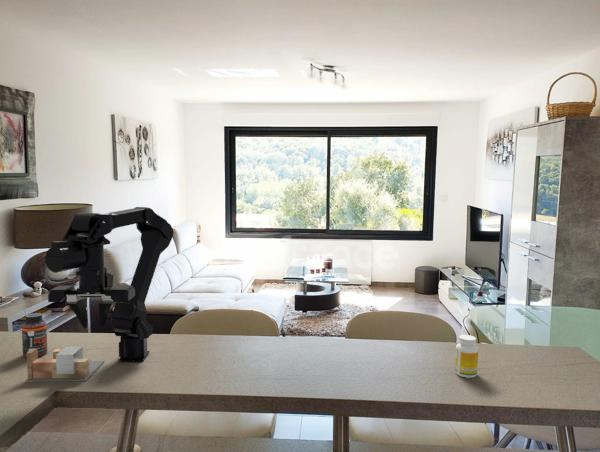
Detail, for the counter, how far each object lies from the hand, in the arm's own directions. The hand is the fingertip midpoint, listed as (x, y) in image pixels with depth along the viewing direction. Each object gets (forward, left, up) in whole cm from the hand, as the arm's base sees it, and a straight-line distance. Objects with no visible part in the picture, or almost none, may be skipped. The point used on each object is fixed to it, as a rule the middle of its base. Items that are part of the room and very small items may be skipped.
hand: (93, 328), depth 112 cm
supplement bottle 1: (+22, -16, -13) cm, 30 cm away
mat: (+8, -4, -12) cm, 16 cm away
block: (+9, -3, -12) cm, 15 cm away
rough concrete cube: (+6, 0, -10) cm, 12 cm away
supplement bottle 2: (-93, 0, -13) cm, 93 cm away
